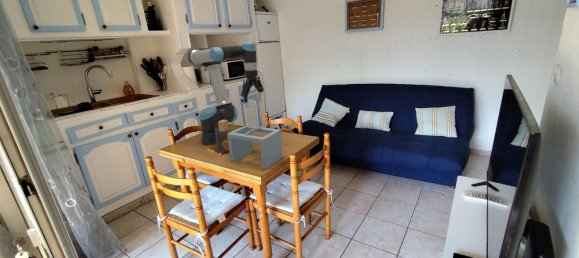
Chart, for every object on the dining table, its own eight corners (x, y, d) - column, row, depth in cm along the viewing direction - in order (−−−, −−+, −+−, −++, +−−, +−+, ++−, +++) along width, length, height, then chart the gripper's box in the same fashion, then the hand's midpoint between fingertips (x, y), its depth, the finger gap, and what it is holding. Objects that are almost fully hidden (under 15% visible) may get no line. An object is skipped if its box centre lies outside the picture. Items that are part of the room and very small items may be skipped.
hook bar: (245, 136, 150) (245, 132, 149) (259, 129, 160) (259, 125, 160) (248, 137, 149) (248, 133, 148) (262, 130, 159) (262, 126, 159)
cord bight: (215, 152, 173) (210, 120, 166) (221, 149, 177) (216, 118, 170) (233, 156, 165) (229, 123, 159) (239, 153, 169) (235, 121, 163)
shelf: (230, 161, 159) (227, 133, 154) (248, 150, 173) (246, 125, 167) (266, 169, 147) (263, 139, 141) (282, 157, 160) (280, 129, 155)
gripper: (243, 72, 148) (246, 110, 155) (267, 67, 169) (269, 100, 176) (232, 72, 152) (236, 109, 159) (257, 67, 173) (259, 99, 180)
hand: (253, 105), depth 168 cm, fingers open, 13 cm apart
